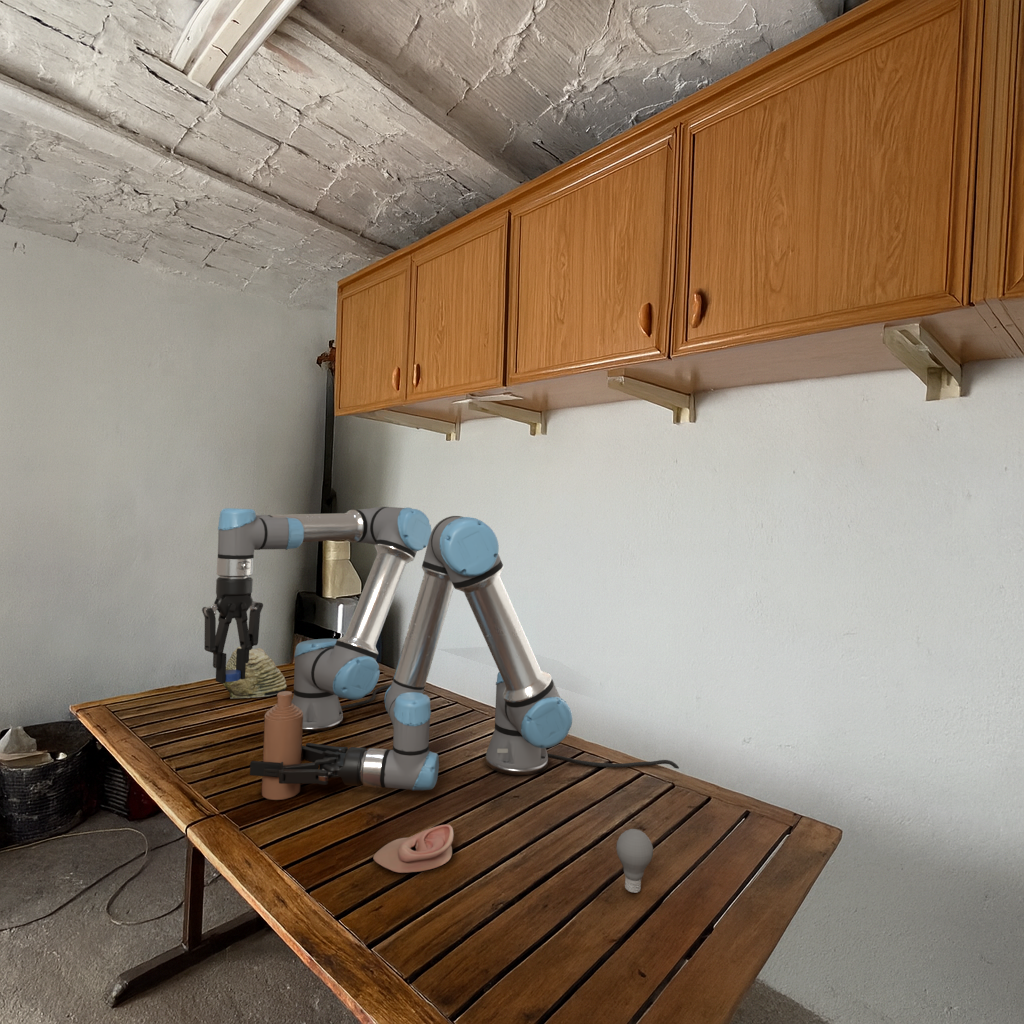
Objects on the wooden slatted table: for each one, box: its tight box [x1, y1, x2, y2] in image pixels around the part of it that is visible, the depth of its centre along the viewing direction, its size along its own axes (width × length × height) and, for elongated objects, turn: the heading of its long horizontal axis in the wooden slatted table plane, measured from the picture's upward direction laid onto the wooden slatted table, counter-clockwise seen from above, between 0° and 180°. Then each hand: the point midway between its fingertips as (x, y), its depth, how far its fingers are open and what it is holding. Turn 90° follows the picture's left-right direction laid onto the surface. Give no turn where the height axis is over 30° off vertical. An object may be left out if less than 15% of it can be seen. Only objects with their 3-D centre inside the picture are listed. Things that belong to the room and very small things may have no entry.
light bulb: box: [615, 828, 654, 894], centre depth 106 cm, size 6×6×10 cm
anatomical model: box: [372, 824, 455, 874], centre depth 113 cm, size 13×4×12 cm
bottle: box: [261, 690, 304, 801], centre depth 135 cm, size 8×8×21 cm
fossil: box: [222, 646, 288, 699], centre depth 198 cm, size 9×18×15 cm, turn 132°
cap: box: [225, 670, 241, 682], centre depth 143 cm, size 4×4×2 cm
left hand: (230, 679), depth 143 cm, fingers closed on cap, 4 cm apart
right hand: (260, 759), depth 136 cm, fingers closed on bottle, 8 cm apart
